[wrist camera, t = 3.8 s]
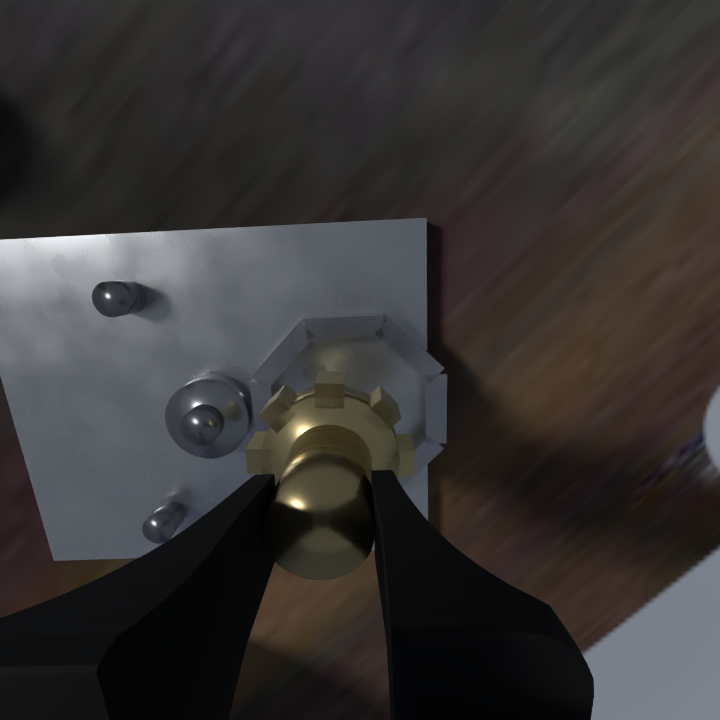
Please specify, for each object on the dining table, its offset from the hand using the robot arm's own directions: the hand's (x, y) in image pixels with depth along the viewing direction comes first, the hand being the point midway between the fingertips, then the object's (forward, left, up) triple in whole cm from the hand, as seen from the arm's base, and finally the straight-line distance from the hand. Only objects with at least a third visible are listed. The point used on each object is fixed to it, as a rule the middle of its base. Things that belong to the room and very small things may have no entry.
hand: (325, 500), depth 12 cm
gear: (0, 0, -3) cm, 3 cm away
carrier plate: (0, +7, -9) cm, 11 cm away
